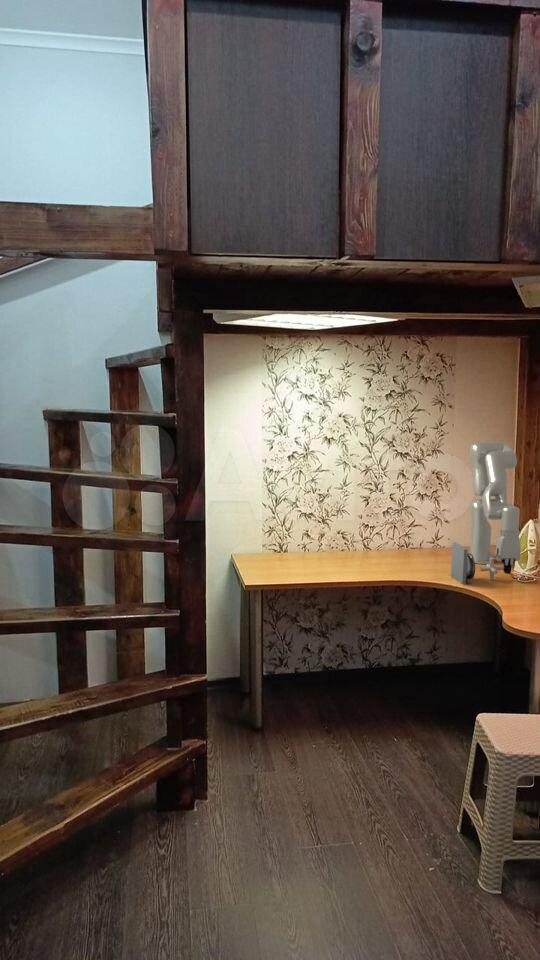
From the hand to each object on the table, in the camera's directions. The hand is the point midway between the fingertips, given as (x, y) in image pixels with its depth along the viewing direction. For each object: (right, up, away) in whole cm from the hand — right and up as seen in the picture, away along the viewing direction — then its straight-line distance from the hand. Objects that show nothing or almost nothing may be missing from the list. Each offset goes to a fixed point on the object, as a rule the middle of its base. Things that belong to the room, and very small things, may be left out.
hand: (507, 573), depth 299 cm
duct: (-20, -2, -1) cm, 20 cm away
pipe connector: (-7, -3, 0) cm, 8 cm away
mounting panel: (-21, -3, -1) cm, 21 cm away
